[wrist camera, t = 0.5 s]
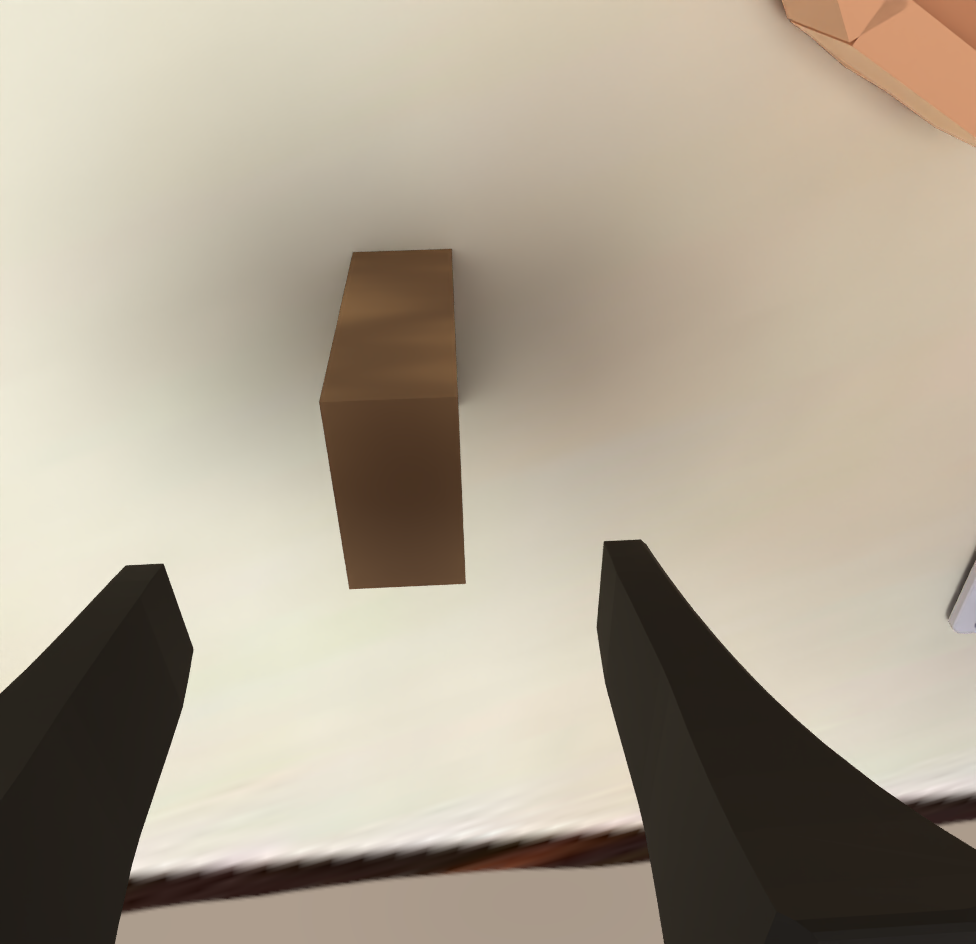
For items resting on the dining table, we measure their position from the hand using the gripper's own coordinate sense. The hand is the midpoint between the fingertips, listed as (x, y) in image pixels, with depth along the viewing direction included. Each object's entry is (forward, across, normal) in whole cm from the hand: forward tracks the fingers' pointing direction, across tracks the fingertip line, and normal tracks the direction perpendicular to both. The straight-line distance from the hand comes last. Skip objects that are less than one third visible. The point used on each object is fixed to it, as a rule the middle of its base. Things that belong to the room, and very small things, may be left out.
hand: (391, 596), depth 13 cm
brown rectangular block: (+9, 0, 0) cm, 9 cm away
